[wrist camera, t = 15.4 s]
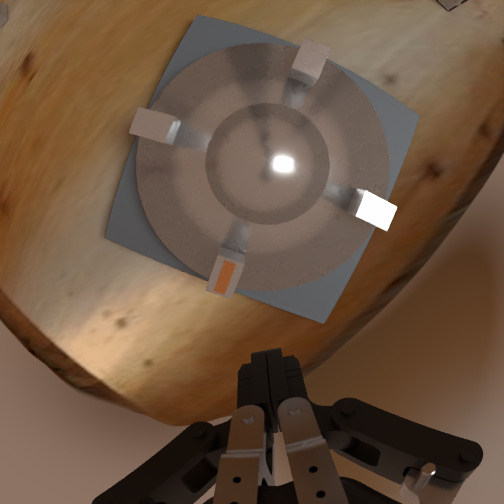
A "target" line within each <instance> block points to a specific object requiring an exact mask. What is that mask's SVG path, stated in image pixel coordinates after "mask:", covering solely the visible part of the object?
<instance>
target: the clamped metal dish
mask: <svg viewBox="0 0 504 504" xmlns="http://www.w3.org/2000/svg"><path fill="white" fill-rule="evenodd" d="M330 49H331V48H329V47H327V46H324V45H322V44H320V43H317V42H315V41H312V40H310V39H307V38H304V40H303V42H302V44H301V47H300V49H299V48H296V47H291V46H287V45H281V44H272V43H252V44H243V45H237V46H232V47H228V48H225V49H222V50H219V51H216V52H213V53H211V54H209V55H207V56H205V57H203V58H201V59H199V60H197V61H195V62H194V63H192V64H191V65H190V66H188V67H187V68H185V69H184V70H182V71H181V72H180V73H179V74H178V75H177V76H176V77H175V78H174V79H172V80H171V81H170V82H169V84H168V85H167V86H166V87H165V88H164V89H163V91H162V92H161V93H160V94H159V96H158V97H157V99H156V100H155V102H154V104H153V105H152V107H151V108H150V110H149V109H145V108H141V107H138V109H137V112H136V114H135V117H134V120H133V122H132V125H131V128H130V131H129V133H130V134H134V135H137V136H140V137H139V142H138V148H137V155H136V176H137V185H138V191H139V195H140V198H141V202H142V206H143V208H144V211H145V213H146V215H147V218H148V220H149V222H150V224H151V225H152V227H153V229H154V231H155V232H156V234H157V235H158V237H159V238H160V239H161V241H162V242H163V243H164V245H165V246H166V247H167V248H168V249H169V250H170V251H171V252H172V253H173V254H174V255H175V256H176V257H177V258H178V259H179V260H180V261H181V262H183V263H184V264H185V265H187V266H188V267H189V268H191V269H192V270H194V271H195V272H197V273H199V274H201V275H202V276H204V277H206V278H208V279H209V281H208V284H207V287H206V291H209V292H211V293H214V294H217V295H220V296H223V297H226V298H229V299H231V298H232V296H233V293H234V291H235V288H238V289H245V290H252V291H274V290H284V289H289V288H293V287H297V286H301V285H304V284H307V283H309V282H312V281H315V280H317V279H319V278H321V277H323V276H325V275H327V274H329V273H330V272H332V271H333V270H335V269H336V268H338V267H339V266H340V265H342V264H343V263H344V262H345V261H347V260H348V259H349V258H350V257H351V256H352V255H353V254H354V253H355V252H356V251H357V250H358V249H359V248H360V247H361V245H362V244H363V243H364V242H365V240H366V239H367V237H368V236H369V234H370V233H371V231H372V230H373V228H374V226H377V227H379V228H382V229H384V230H386V231H387V230H388V228H389V225H390V223H391V221H392V218H393V216H394V213H395V211H396V208H397V207H396V206H394V205H392V204H391V203H389V202H387V201H385V199H386V194H387V189H388V184H389V171H390V166H389V152H388V146H387V141H386V136H385V133H384V130H383V127H382V125H381V122H380V119H379V117H378V115H377V113H376V111H375V109H374V107H373V106H372V104H371V103H370V101H369V100H368V98H367V97H366V95H365V94H364V92H363V91H362V90H361V89H360V88H359V87H358V85H357V84H356V83H355V82H354V81H353V80H352V79H351V78H350V77H349V76H347V75H346V74H345V73H344V72H343V71H342V70H341V69H339V68H338V67H336V66H335V65H333V64H332V63H330V62H329V61H327V60H326V59H327V56H328V54H329V51H330Z"/></svg>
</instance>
